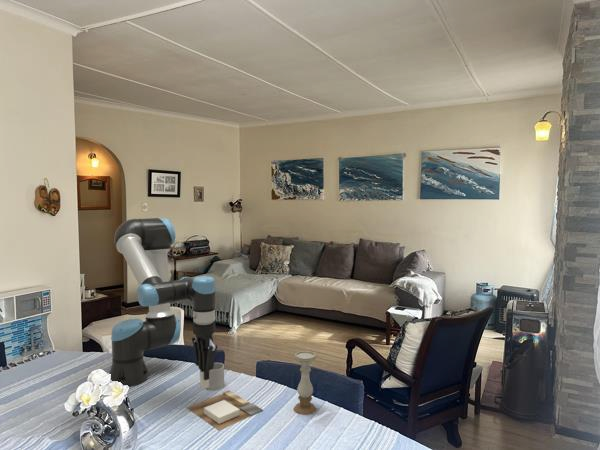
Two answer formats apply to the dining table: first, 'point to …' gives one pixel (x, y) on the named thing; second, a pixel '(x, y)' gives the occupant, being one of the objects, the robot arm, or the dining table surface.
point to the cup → (216, 377)
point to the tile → (221, 411)
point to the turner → (242, 403)
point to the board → (199, 411)
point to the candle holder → (305, 384)
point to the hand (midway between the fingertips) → (204, 387)
